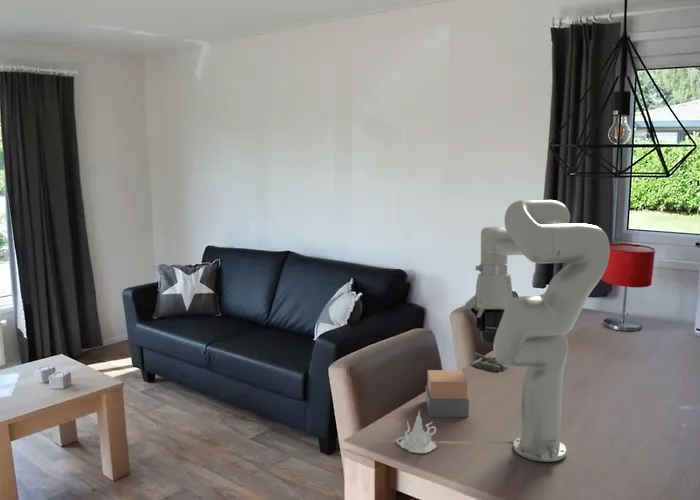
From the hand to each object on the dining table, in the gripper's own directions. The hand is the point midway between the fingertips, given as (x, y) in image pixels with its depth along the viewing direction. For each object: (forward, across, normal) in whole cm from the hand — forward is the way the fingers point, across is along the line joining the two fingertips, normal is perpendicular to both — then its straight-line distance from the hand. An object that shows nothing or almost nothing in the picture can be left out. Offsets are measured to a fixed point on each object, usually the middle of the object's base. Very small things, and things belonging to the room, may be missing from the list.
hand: (493, 329), depth 175 cm
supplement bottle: (+4, 0, 0) cm, 4 cm away
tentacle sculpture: (+23, -24, -28) cm, 44 cm away
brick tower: (+22, -14, -5) cm, 27 cm away
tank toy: (+22, +5, +32) cm, 39 cm away
